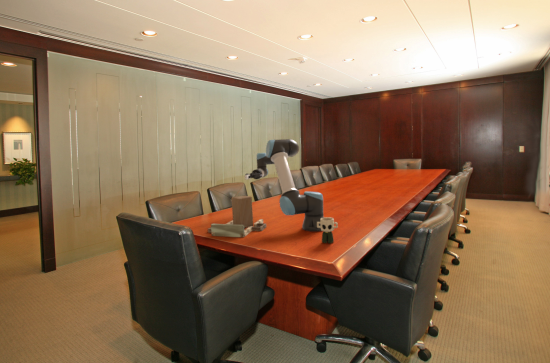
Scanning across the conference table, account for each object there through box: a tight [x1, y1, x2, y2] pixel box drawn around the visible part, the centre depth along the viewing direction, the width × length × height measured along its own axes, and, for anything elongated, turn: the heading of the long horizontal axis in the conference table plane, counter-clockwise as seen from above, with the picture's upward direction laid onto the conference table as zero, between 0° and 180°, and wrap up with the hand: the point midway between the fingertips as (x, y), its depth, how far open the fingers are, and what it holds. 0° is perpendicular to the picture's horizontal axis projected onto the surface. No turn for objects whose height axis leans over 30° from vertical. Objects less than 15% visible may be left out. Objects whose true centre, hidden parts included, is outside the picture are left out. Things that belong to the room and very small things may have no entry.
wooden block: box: [231, 195, 254, 229], centre depth 205 cm, size 10×10×20 cm
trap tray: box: [207, 218, 267, 238], centre depth 200 cm, size 35×33×7 cm
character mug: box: [317, 216, 339, 244], centre depth 163 cm, size 11×7×13 cm, turn 77°
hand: (245, 177), depth 212 cm, fingers closed
